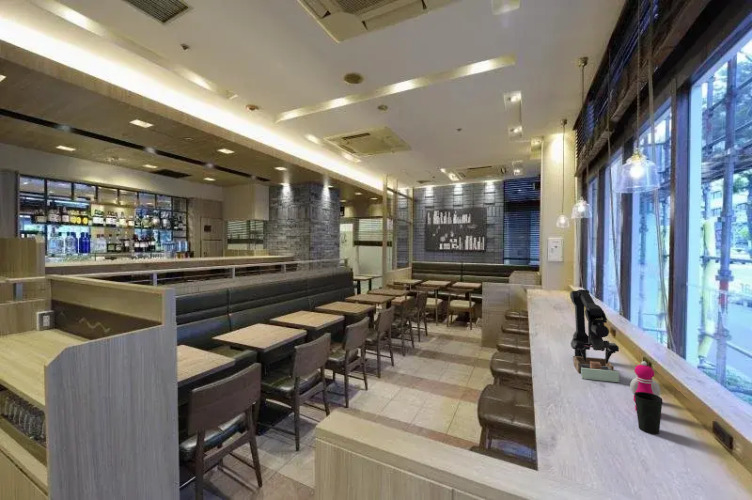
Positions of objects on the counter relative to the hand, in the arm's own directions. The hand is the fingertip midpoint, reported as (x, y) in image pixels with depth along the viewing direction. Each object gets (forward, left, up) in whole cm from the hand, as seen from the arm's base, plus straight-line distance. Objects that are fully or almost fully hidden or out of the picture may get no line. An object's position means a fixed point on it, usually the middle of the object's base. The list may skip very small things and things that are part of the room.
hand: (595, 362), depth 166 cm
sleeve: (-6, 0, -6) cm, 8 cm away
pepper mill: (+37, +8, -6) cm, 39 cm away
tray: (+1, 0, -6) cm, 6 cm away
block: (0, 0, -5) cm, 5 cm away
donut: (+25, +12, -6) cm, 29 cm away
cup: (+52, +4, -6) cm, 53 cm away
